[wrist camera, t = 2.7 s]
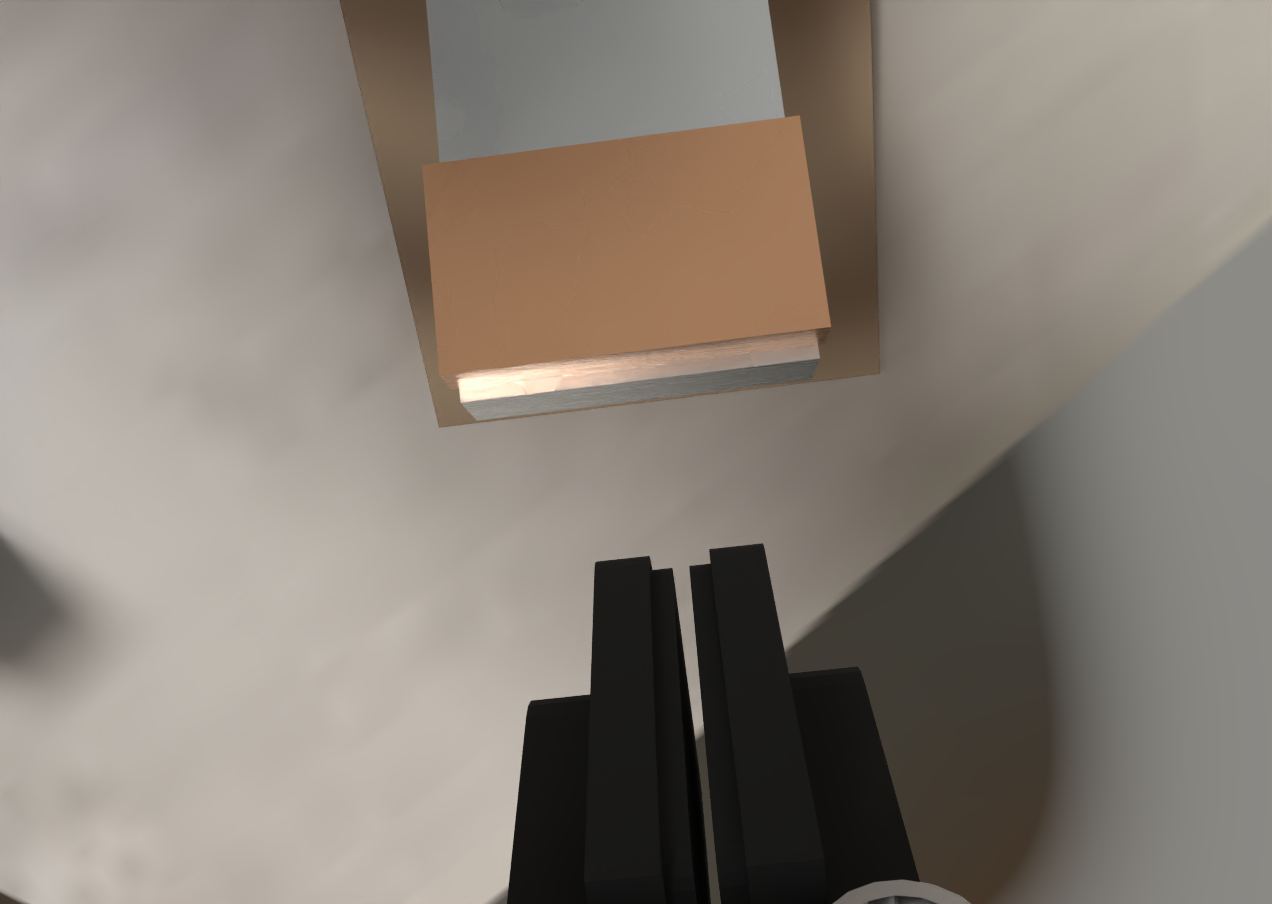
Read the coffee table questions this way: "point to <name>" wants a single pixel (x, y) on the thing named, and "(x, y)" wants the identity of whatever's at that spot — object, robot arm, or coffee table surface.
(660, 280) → the latch lever
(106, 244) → the coffee table surface
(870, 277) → the latch base
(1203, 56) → the coffee table surface
